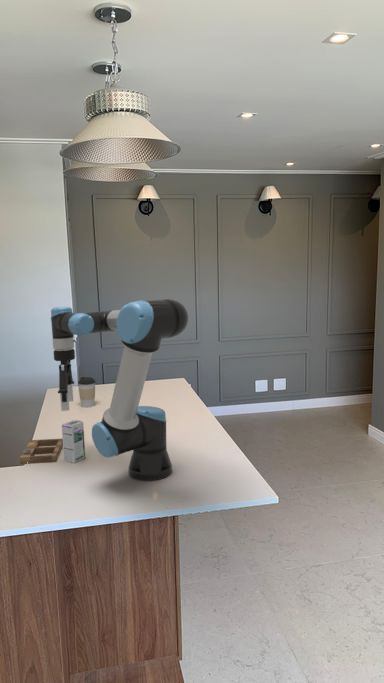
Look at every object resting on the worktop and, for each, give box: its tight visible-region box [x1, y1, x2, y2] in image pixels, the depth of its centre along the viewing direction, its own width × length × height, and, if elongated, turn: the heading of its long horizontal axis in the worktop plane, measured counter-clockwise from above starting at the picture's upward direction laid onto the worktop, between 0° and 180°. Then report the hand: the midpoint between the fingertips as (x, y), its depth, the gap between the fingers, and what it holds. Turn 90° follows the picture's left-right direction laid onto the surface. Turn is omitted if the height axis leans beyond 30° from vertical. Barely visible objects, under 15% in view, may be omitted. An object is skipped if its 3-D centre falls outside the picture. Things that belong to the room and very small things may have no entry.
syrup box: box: [61, 419, 86, 464], centre depth 184 cm, size 6×6×14 cm
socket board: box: [19, 438, 63, 465], centre depth 191 cm, size 19×13×3 cm
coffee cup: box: [77, 376, 96, 408], centre depth 258 cm, size 9×9×15 cm
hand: (67, 405), depth 182 cm, fingers open, 13 cm apart
